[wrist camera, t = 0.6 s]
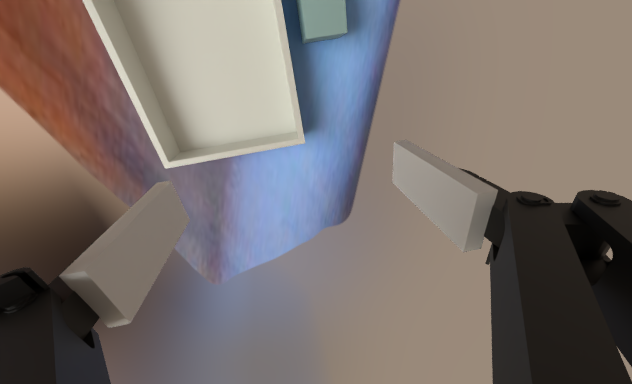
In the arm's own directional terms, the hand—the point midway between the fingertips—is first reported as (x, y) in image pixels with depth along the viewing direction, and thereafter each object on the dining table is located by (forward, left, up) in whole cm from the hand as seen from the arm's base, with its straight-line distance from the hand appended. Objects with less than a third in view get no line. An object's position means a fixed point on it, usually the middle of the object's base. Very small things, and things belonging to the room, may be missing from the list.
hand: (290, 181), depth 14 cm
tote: (-7, -7, -25) cm, 27 cm away
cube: (-11, +7, -25) cm, 28 cm away
